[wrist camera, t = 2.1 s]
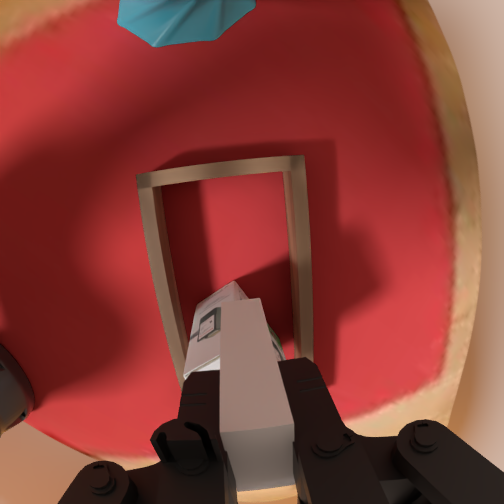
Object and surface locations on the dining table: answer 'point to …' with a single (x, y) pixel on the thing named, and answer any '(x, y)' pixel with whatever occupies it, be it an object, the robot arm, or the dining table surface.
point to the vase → (180, 19)
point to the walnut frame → (297, 244)
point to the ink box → (215, 331)
